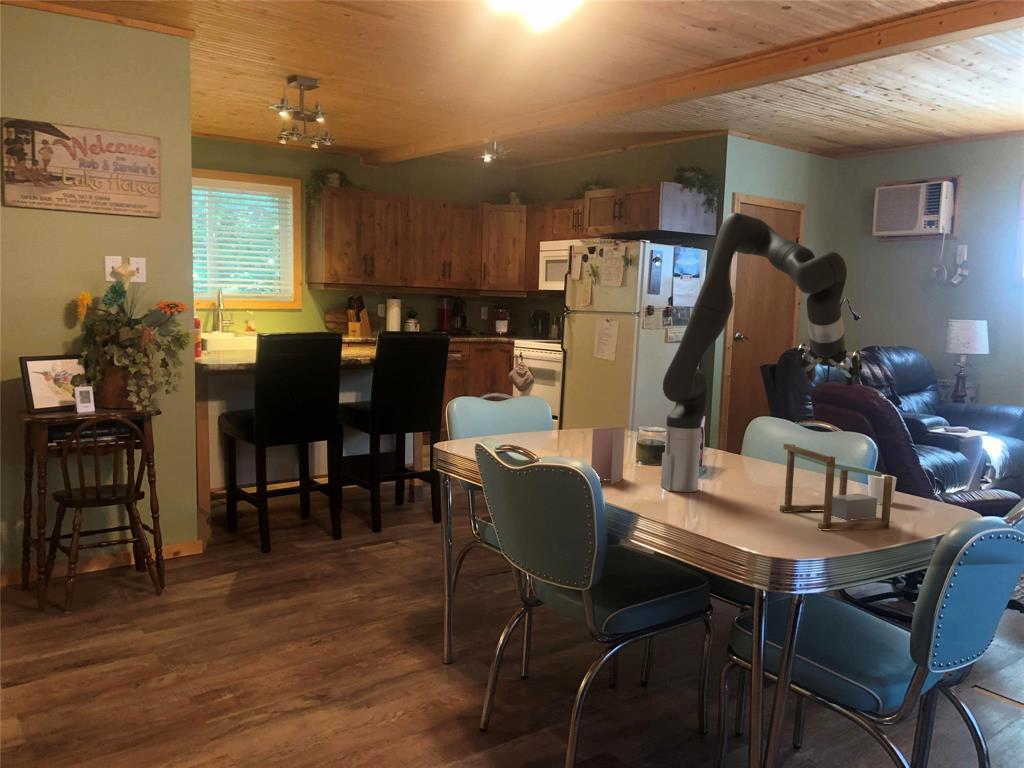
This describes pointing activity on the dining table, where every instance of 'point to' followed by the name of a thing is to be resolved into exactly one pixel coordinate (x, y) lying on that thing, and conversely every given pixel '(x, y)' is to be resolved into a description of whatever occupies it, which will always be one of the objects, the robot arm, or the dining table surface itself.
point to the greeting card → (608, 453)
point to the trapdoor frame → (829, 493)
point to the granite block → (854, 506)
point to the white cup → (879, 487)
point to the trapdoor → (843, 466)
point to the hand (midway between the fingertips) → (830, 382)
